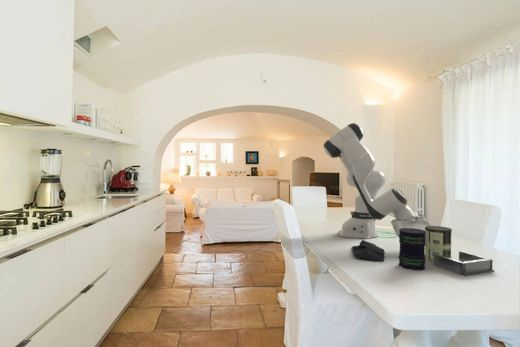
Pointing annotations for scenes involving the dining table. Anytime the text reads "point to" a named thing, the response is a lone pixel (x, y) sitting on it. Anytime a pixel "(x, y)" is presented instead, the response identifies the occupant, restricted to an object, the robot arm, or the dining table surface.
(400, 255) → the storage jar
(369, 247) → the dark slate chunk
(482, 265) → the receiver bay
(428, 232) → the coffee can
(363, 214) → the robot arm
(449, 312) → the dining table surface
